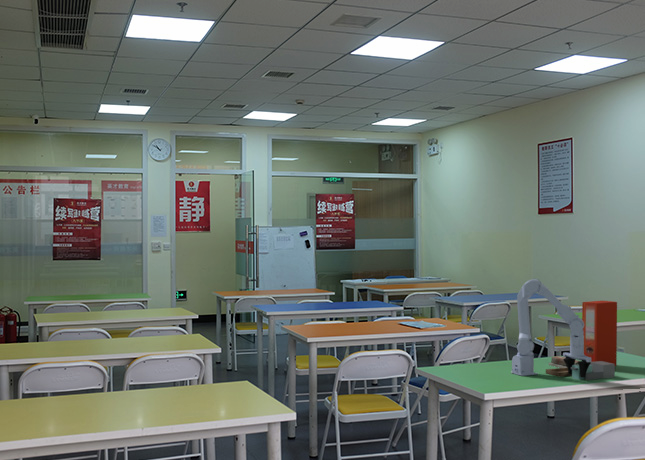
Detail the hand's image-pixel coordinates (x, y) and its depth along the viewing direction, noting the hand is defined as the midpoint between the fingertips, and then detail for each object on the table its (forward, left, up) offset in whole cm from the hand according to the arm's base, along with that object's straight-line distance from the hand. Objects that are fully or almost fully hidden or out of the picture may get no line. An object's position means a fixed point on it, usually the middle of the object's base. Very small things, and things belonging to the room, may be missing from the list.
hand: (576, 375), depth 288 cm
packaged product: (+17, +21, -2) cm, 27 cm away
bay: (+10, 0, -1) cm, 10 cm away
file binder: (+33, +18, -2) cm, 38 cm away
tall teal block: (+3, 0, -2) cm, 4 cm away
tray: (+2, +11, -1) cm, 11 cm away
